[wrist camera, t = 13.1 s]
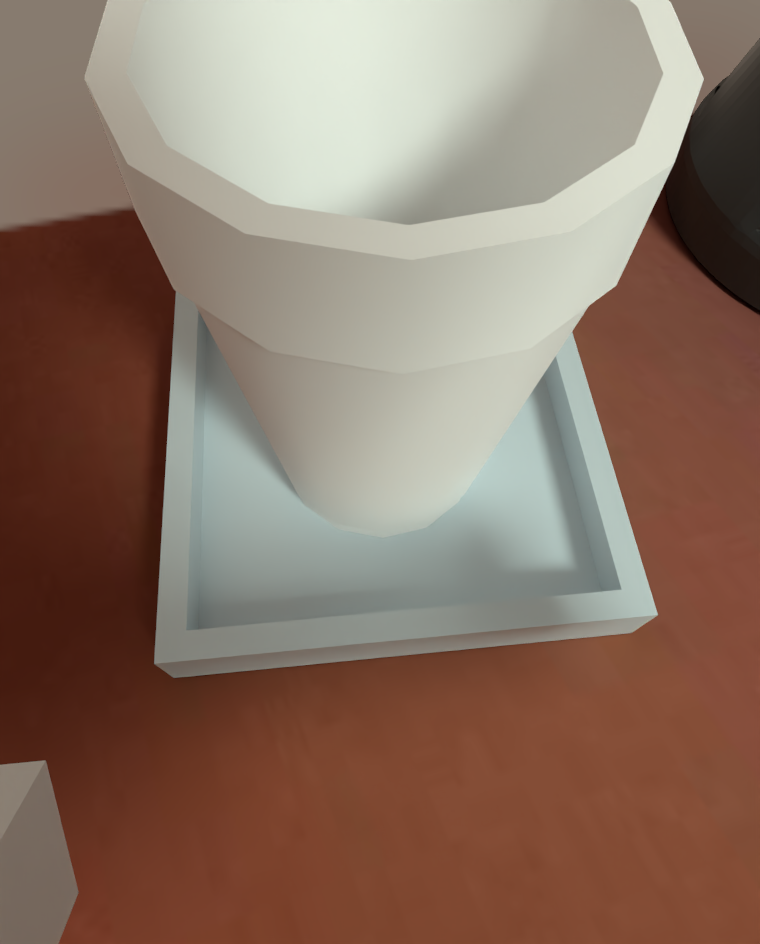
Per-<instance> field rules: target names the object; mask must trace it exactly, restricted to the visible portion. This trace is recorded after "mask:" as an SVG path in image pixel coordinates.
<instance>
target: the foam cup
mask: <svg viewBox="0 0 760 944" xmlns="http://www.w3.org/2000/svg"><path fill="white" fill-rule="evenodd" d="M84 79H85V82H86V84H87V87H88V90H89V92H90V95H91V98H92V100H93V103H94V105H95V108H96V110H97V113H98V116H99V118H100V121H101V124H102V126H103V129H104V131H105V134H106V137H107V139H108V142H109V144H110V147H111V150H112V152H113V155H114V157H115V160H116V163H117V165H118V168H119V170H120V173H121V176H122V178H123V181H124V184H125V186H126V189H127V191H128V194H129V196H130V199H131V202H132V204H133V207H134V210H135V212H136V214H137V216H138V218H139V220H140V222H141V224H142V226H143V228H144V230H145V232H146V234H147V236H148V238H149V240H150V242H151V244H152V246H153V248H154V250H155V252H156V254H157V256H158V259H159V261H160V263H161V265H162V267H163V269H164V271H165V273H166V275H167V277H168V279H169V281H170V283H171V285H172V287H173V289H174V290H176V291H177V292H179V293H180V294H182V295H183V296H185V297H186V298H188V299H189V300H191V301H193V302H194V303H195V305H196V307H197V309H198V311H199V313H200V314H201V316H202V318H203V320H204V322H205V324H206V326H207V327H208V329H209V331H210V333H211V335H212V337H213V338H214V340H215V342H216V344H217V346H218V348H219V350H220V351H221V353H222V355H223V357H224V359H225V361H226V363H227V364H228V366H229V368H230V370H231V372H232V374H233V375H234V377H235V379H236V381H237V383H238V385H239V387H240V388H241V390H242V392H243V394H244V396H245V398H246V399H247V401H248V403H249V405H250V407H251V409H252V411H253V412H254V414H255V416H256V418H257V420H258V422H259V423H260V425H261V427H262V429H263V431H264V433H265V435H266V436H267V438H268V440H269V442H270V444H271V446H272V448H273V449H274V451H275V453H276V455H277V457H278V459H279V460H280V462H281V464H282V466H283V468H284V470H285V472H286V473H287V475H288V477H289V479H290V481H291V483H292V484H293V486H294V488H295V490H296V492H297V494H298V496H299V497H300V498H301V500H302V502H303V504H304V505H305V506H307V507H308V508H309V509H311V510H312V511H314V512H315V513H316V514H318V515H319V516H321V517H322V518H323V519H325V520H326V521H327V522H329V523H330V524H332V525H333V526H334V527H336V528H337V529H339V530H344V531H349V532H354V533H359V534H365V535H370V536H375V537H380V538H385V537H389V536H394V535H398V534H402V533H406V532H411V531H415V530H419V529H423V528H427V527H428V526H429V525H431V524H432V523H433V522H434V521H436V520H437V519H438V518H439V517H441V516H442V515H443V514H444V513H446V512H447V511H448V510H449V509H451V508H452V507H453V506H454V505H456V504H457V503H458V502H459V501H460V498H461V497H462V496H463V495H464V494H465V493H466V491H467V490H468V488H469V487H470V485H471V484H472V482H473V481H474V479H475V478H476V476H477V475H478V473H479V472H480V470H481V469H482V467H483V466H484V464H485V462H486V461H487V459H488V458H489V456H490V455H491V453H492V452H493V450H494V449H495V447H496V446H497V444H498V443H499V441H500V440H501V438H502V437H503V435H504V434H505V432H506V431H507V429H508V428H509V426H510V425H511V423H512V422H513V420H514V419H515V417H516V416H517V414H518V412H519V411H520V409H521V408H522V406H523V405H524V403H525V402H526V400H527V399H528V397H529V396H530V394H531V393H532V391H533V390H534V388H535V387H536V385H537V384H538V382H539V381H540V379H541V378H542V376H543V375H544V373H545V372H546V370H547V369H548V367H549V366H550V364H551V362H552V361H553V359H554V358H555V356H556V355H557V353H558V352H559V350H560V349H561V347H562V346H563V344H564V343H565V341H566V340H567V338H568V337H569V335H570V334H571V332H572V331H573V329H574V328H575V326H576V325H577V323H578V322H579V320H580V319H581V317H582V316H583V314H584V312H585V311H586V309H587V308H588V306H589V305H590V304H592V303H593V302H594V301H596V300H597V299H598V298H600V297H601V296H603V295H604V294H605V293H607V292H608V291H609V290H611V289H612V288H613V287H615V286H616V285H617V283H618V281H619V279H620V277H621V274H622V272H623V270H624V268H625V266H626V264H627V262H628V260H629V258H630V255H631V253H632V251H633V249H634V247H635V245H636V243H637V241H638V239H639V237H640V234H641V232H642V230H643V228H644V226H645V224H646V222H647V220H648V218H649V215H650V213H651V211H652V209H653V207H654V205H655V203H656V201H657V199H658V196H659V194H660V192H661V190H662V188H663V186H664V184H665V182H666V180H667V177H668V175H669V173H670V171H671V169H672V167H673V165H674V163H675V160H676V157H677V154H678V151H679V149H680V146H681V143H682V140H683V137H684V134H685V132H686V129H687V126H688V123H689V120H690V117H691V114H692V112H693V109H694V106H695V103H696V100H697V97H698V94H699V92H700V89H701V86H702V83H703V80H704V78H703V76H702V73H701V71H700V69H699V67H698V64H697V62H696V59H695V57H694V55H693V52H692V50H691V48H690V46H689V43H688V41H687V39H686V36H685V34H684V32H683V30H682V27H681V25H680V23H679V20H678V18H677V15H676V14H675V11H674V9H673V6H672V4H671V2H670V1H668V0H108V1H107V4H106V7H105V11H104V14H103V17H102V21H101V24H100V28H99V31H98V34H97V37H96V40H95V44H94V47H93V50H92V54H91V57H90V61H89V64H88V67H87V70H86V74H85V77H84Z"/></svg>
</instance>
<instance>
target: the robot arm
mask: <svg viewBox="0 0 760 944" xmlns="http://www.w3.org/2000/svg"><path fill="white" fill-rule="evenodd" d="M666 194H667V201H668V206H669V210H670V213H671V216H672V219H673V221H674V224H675V226H676V228H677V230H678V232H679V234H680V235H681V237H682V239H683V240H684V242H685V244H686V245H687V246H688V248H689V249H690V251H691V252H692V253H693V254H694V256H695V257H696V258H697V259H698V261H699V262H700V263H701V264H702V265H703V266H704V267H705V268H706V269H707V270H708V271H709V272H710V273H711V274H712V275H713V276H714V277H715V278H716V279H717V280H718V281H719V282H721V283H722V284H723V285H724V286H725V287H727V288H728V289H729V290H730V291H732V292H733V293H734V294H736V295H737V296H738V297H740V298H741V299H743V300H744V301H746V302H747V303H749V304H750V305H752V306H753V307H755V308H757V309H758V310H760V39H759V40H758V41H757V42H756V44H755V45H754V46H753V47H752V48H751V50H750V51H749V52H748V53H747V54H746V56H745V57H744V58H743V59H742V60H741V62H740V63H739V64H738V66H737V67H736V68H735V69H734V70H733V72H732V73H731V74H730V75H729V76H728V77H727V78H725V79H724V80H722V82H721V83H719V84H718V85H717V86H716V87H715V88H714V89H713V90H712V91H711V92H710V93H709V94H708V95H707V97H705V99H704V100H703V101H702V102H701V104H700V105H699V107H698V108H697V110H696V111H695V113H694V115H693V116H692V118H691V120H690V122H689V124H688V126H687V129H686V132H685V134H684V137H683V140H682V143H681V146H680V149H679V151H678V154H677V157H676V160H675V163H674V165H673V167H672V169H671V171H670V173H669V175H668V177H667V180H666ZM78 893H79V892H78V888H77V884H76V880H75V876H74V872H73V868H72V864H71V860H70V856H69V852H68V848H67V844H66V840H65V836H64V832H63V828H62V824H61V820H60V816H59V812H58V807H57V803H56V799H55V795H54V791H53V787H52V783H51V779H50V775H49V771H48V767H47V763H46V760H44V761H34V762H24V763H14V764H4V765H0V944H58V943H59V941H60V938H61V936H62V933H63V931H64V928H65V926H66V923H67V920H68V918H69V915H70V913H71V910H72V908H73V905H74V903H75V900H76V898H77V895H78Z"/></svg>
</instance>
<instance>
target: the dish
mask: <svg viewBox="0 0 760 944" xmlns="http://www.w3.org/2000/svg"><path fill="white" fill-rule="evenodd" d="M657 615H658V614H657V611H656V607H655V604H654V601H653V597H652V594H651V591H650V588H649V584H648V581H647V578H646V574H645V571H644V568H643V564H642V561H641V558H640V555H639V551H638V548H637V545H636V541H635V538H634V535H633V531H632V528H631V525H630V522H629V518H628V515H627V512H626V508H625V505H624V502H623V498H622V495H621V492H620V489H619V485H618V482H617V479H616V475H615V472H614V469H613V465H612V462H611V459H610V456H609V452H608V449H607V446H606V442H605V439H604V436H603V432H602V429H601V426H600V423H599V419H598V416H597V413H596V409H595V406H594V403H593V399H592V396H591V393H590V390H589V386H588V383H587V380H586V376H585V373H584V370H583V366H582V363H581V360H580V356H579V353H578V350H577V347H576V343H575V340H574V337H573V333H572V332H571V334H570V335H569V337H568V338H567V340H566V341H565V343H564V344H563V346H562V347H561V349H560V350H559V352H558V353H557V355H556V356H555V358H554V359H553V361H552V362H551V364H550V366H549V367H548V369H547V370H546V372H545V373H544V375H543V376H542V378H541V379H540V381H539V382H538V384H537V385H536V387H535V388H534V390H533V391H532V393H531V394H530V396H529V397H528V399H527V400H526V402H525V403H524V405H523V406H522V408H521V409H520V411H519V412H518V414H517V416H516V417H515V419H514V420H513V422H512V423H511V425H510V426H509V428H508V429H507V431H506V432H505V434H504V435H503V437H502V438H501V440H500V441H499V443H498V444H497V446H496V447H495V449H494V450H493V452H492V453H491V455H490V456H489V458H488V459H487V461H486V462H485V464H484V466H483V467H482V469H481V470H480V472H479V473H478V475H477V476H476V478H475V479H474V481H473V482H472V484H471V485H470V487H469V488H468V490H467V491H466V493H465V494H464V495H463V496H462V497H461V498H460V501H459V502H458V503H457V504H456V505H454V506H453V507H452V508H451V509H449V510H448V511H447V512H446V513H444V514H443V515H442V516H441V517H439V518H438V519H437V520H436V521H434V522H433V523H432V524H431V525H429V526H428V527H427V528H423V529H419V530H415V531H411V532H406V533H402V534H398V535H394V536H389V537H385V538H380V537H375V536H370V535H365V534H359V533H354V532H349V531H344V530H339V529H337V528H336V527H334V526H333V525H332V524H330V523H329V522H327V521H326V520H325V519H323V518H322V517H321V516H319V515H318V514H316V513H315V512H314V511H312V510H311V509H309V508H308V507H307V506H305V505H304V504H303V502H302V500H301V498H300V497H299V496H298V494H297V492H296V490H295V488H294V486H293V484H292V483H291V481H290V479H289V477H288V475H287V473H286V472H285V470H284V468H283V466H282V464H281V462H280V460H279V459H278V457H277V455H276V453H275V451H274V449H273V448H272V446H271V444H270V442H269V440H268V438H267V436H266V435H265V433H264V431H263V429H262V427H261V425H260V423H259V422H258V420H257V418H256V416H255V414H254V412H253V411H252V409H251V407H250V405H249V403H248V401H247V399H246V398H245V396H244V394H243V392H242V390H241V388H240V387H239V385H238V383H237V381H236V379H235V377H234V375H233V374H232V372H231V370H230V368H229V366H228V364H227V363H226V361H225V359H224V357H223V355H222V353H221V351H220V350H219V348H218V346H217V344H216V342H215V340H214V338H213V337H212V335H211V333H210V331H209V329H208V327H207V326H206V324H205V322H204V320H203V318H202V316H201V314H200V313H199V311H198V309H197V307H196V305H195V303H194V302H193V301H191V300H189V299H188V298H186V297H185V296H183V295H182V294H180V293H179V292H177V291H176V298H175V316H174V333H173V350H172V367H171V384H170V401H169V418H168V435H167V452H166V469H165V486H164V503H163V520H162V537H161V554H160V571H159V588H158V605H157V622H156V639H155V656H154V664H155V665H156V666H158V667H159V668H161V669H162V670H163V671H165V672H166V673H168V674H169V675H170V676H172V677H173V678H179V677H189V676H199V675H209V674H220V673H230V672H240V671H250V670H260V669H270V668H280V667H291V666H301V665H311V664H321V663H331V662H341V661H352V660H362V659H372V658H382V657H392V656H402V655H412V654H423V653H433V652H443V651H453V650H463V649H473V648H484V647H494V646H504V645H514V644H524V643H534V642H544V641H555V640H565V639H575V638H585V637H595V636H605V635H616V634H626V633H632V632H633V631H635V630H636V629H638V628H639V627H641V626H642V625H644V624H645V623H647V622H648V621H650V620H651V619H653V618H654V617H656V616H657Z"/></svg>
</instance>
